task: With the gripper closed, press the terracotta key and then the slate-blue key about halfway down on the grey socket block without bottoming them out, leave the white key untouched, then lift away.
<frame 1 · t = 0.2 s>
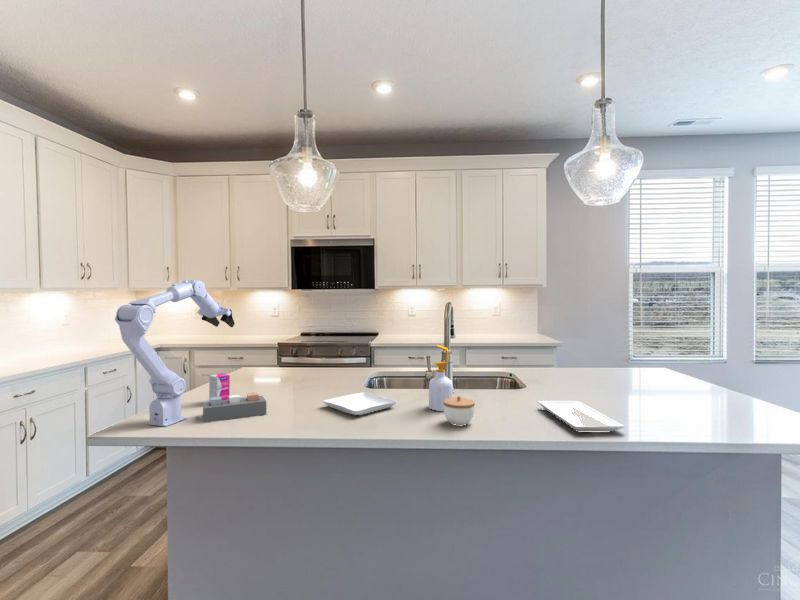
hand: (225, 325, 178), 31 cm above the countertop, tool tilted 45°, fingers open, 7 cm apart
white key: (234, 401, 159), point 5 cm above the countertop, slide at 0.0 cm
lidded jar: (458, 423, 150), on the countertop
grey socket block: (234, 415, 160), on the countertop
salad plate: (360, 409, 169), on the countertop
slate key: (215, 403, 157), point 5 cm above the countertop, slide at 0.0 cm
soap bottle: (440, 408, 168), on the countertop
terracotta key: (252, 399, 162), point 5 cm above the countertop, slide at 0.0 cm
supplement box: (219, 403, 176), on the countertop
tray: (576, 422, 153), on the countertop
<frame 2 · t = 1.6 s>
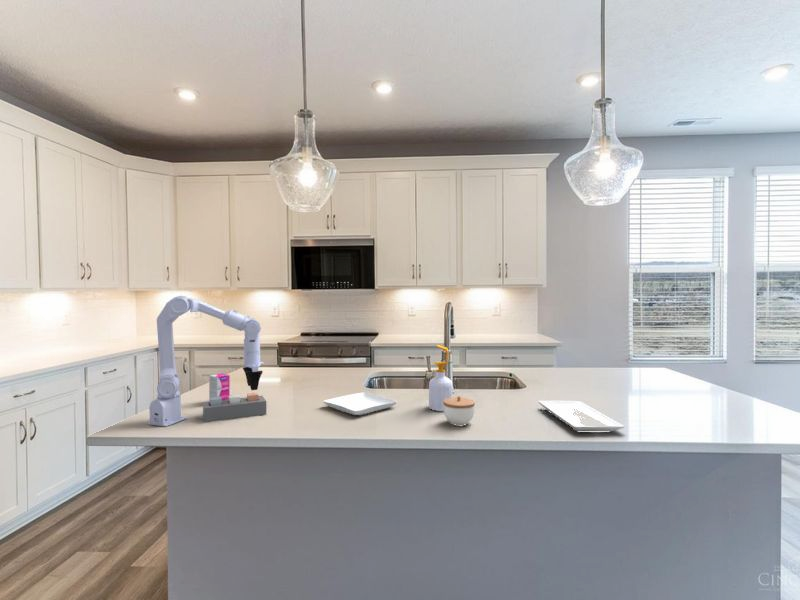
hand: (252, 387, 162), 9 cm above the countertop, tool pointing down, fingers open, 7 cm apart
nothing on the countertop moved.
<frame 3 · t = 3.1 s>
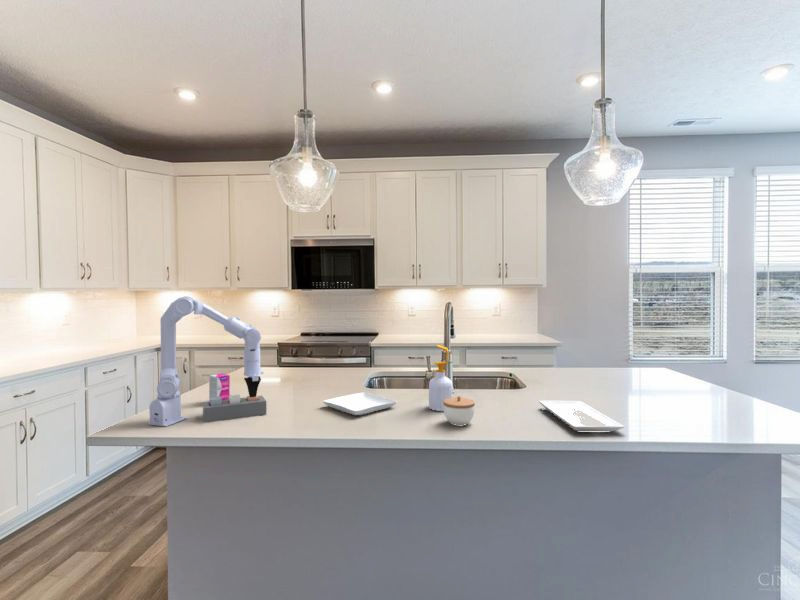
hand: (252, 396, 162), 6 cm above the countertop, tool pointing down, fingers closed, pressing on terracotta key
terracotta key: (252, 401, 162), point 4 cm above the countertop, slide at 0.9 cm, touching gripper
everything else where it was.
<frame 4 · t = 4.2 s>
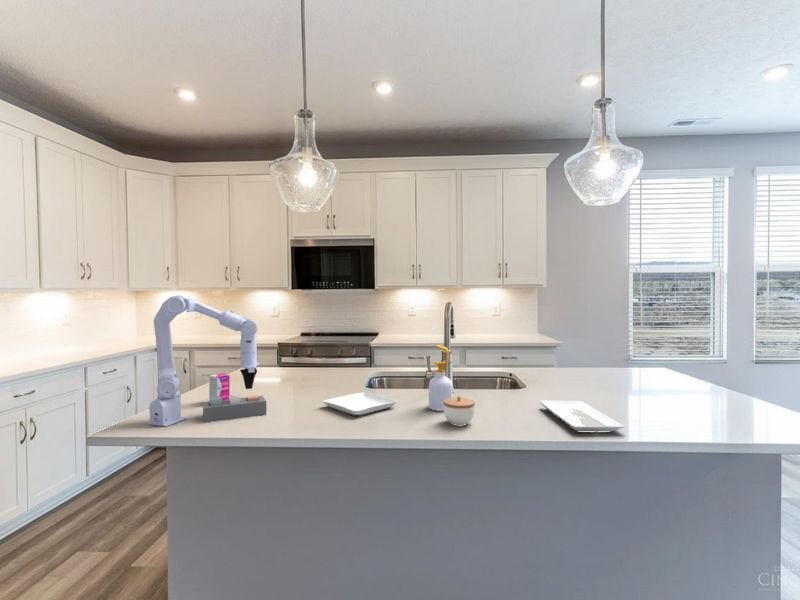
hand: (248, 388, 162), 9 cm above the countertop, tool pointing down, fingers closed
terracotta key: (252, 402, 162), point 4 cm above the countertop, slide at 0.9 cm
everything else where it was.
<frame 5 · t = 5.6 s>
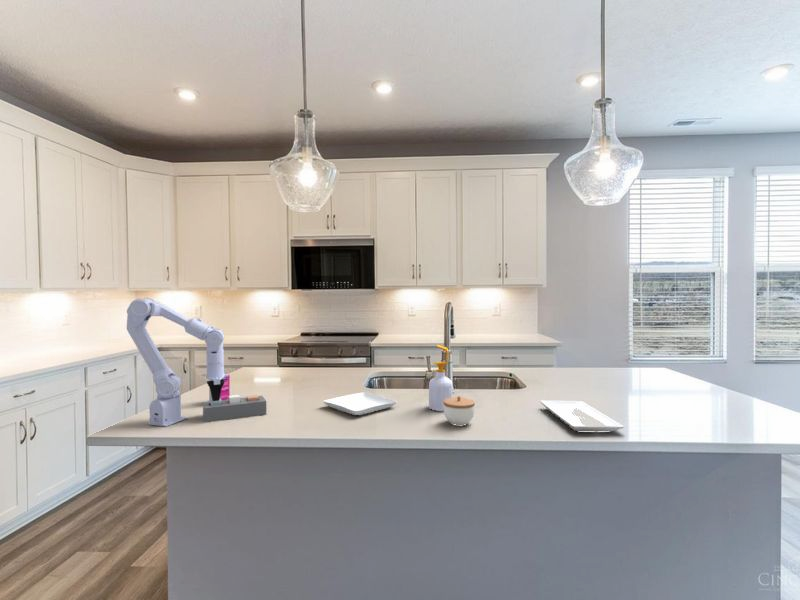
hand: (215, 400, 156), 6 cm above the countertop, tool pointing down, fingers closed, pressing on slate key
slate key: (215, 406, 157), point 4 cm above the countertop, slide at 0.8 cm, touching gripper
everything else where it was.
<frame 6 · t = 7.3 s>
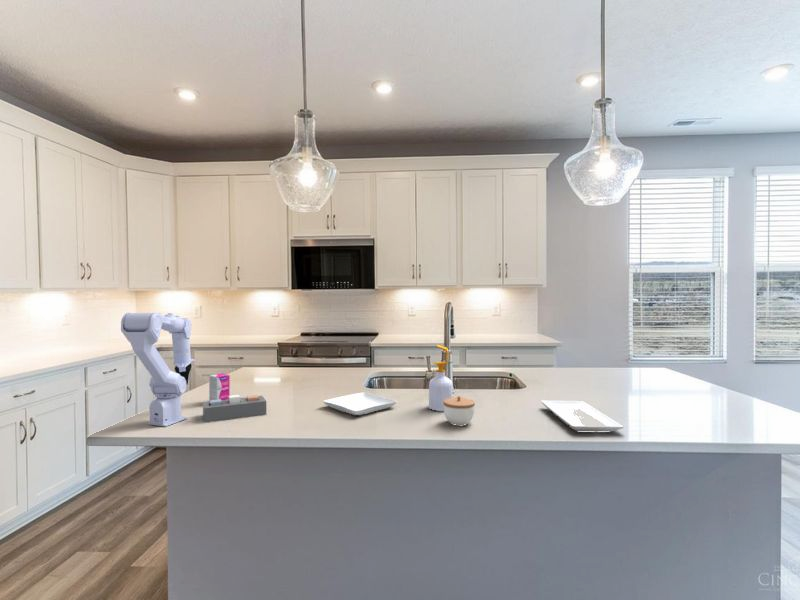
hand: (184, 384, 164), 10 cm above the countertop, tool pointing down, fingers closed
slate key: (215, 406, 157), point 4 cm above the countertop, slide at 0.9 cm
everything else where it was.
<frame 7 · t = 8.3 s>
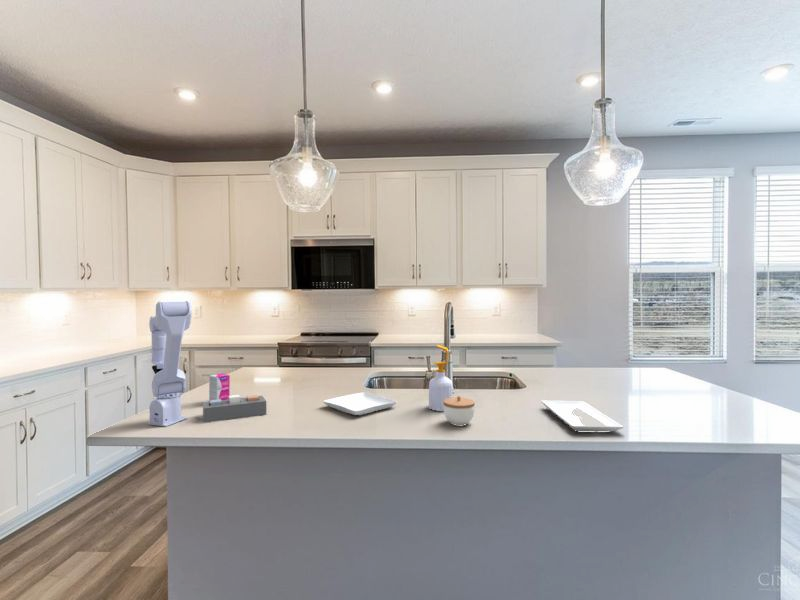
hand: (161, 384, 164), 10 cm above the countertop, tool pointing down, fingers closed
nothing on the countertop moved.
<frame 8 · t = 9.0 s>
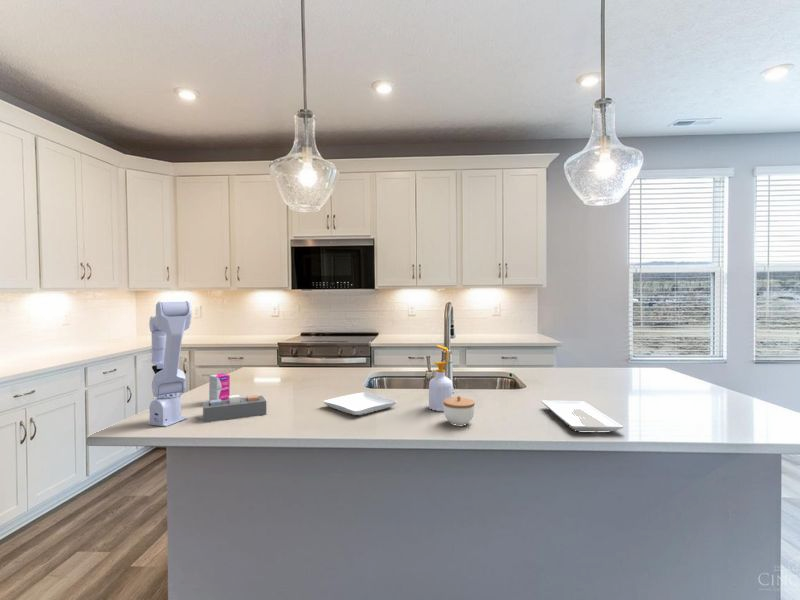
hand: (161, 384, 164), 10 cm above the countertop, tool pointing down, fingers closed
nothing on the countertop moved.
at the end: terracotta key slide at 0.9 cm; slate key slide at 0.9 cm; white key slide at 0.0 cm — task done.
